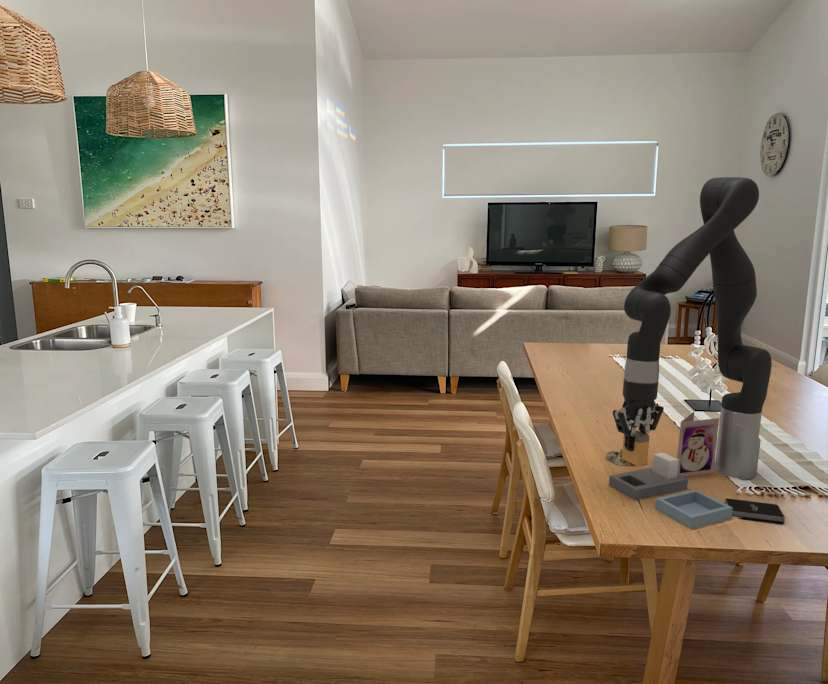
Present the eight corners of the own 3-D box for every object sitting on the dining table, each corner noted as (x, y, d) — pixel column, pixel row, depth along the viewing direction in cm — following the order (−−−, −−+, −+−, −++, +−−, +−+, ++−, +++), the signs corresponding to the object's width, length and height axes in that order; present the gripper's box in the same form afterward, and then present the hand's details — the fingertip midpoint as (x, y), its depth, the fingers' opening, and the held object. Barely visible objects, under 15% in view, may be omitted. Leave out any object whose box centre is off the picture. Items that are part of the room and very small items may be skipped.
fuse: (660, 479, 160) (662, 452, 158) (675, 486, 155) (678, 459, 154) (651, 481, 158) (653, 454, 157) (666, 488, 154) (669, 461, 152)
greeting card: (677, 480, 160) (683, 422, 157) (658, 469, 167) (663, 413, 164) (715, 475, 163) (721, 419, 160) (695, 464, 170) (700, 410, 167)
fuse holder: (658, 477, 162) (659, 465, 161) (686, 491, 154) (688, 479, 153) (608, 487, 156) (609, 475, 155) (635, 502, 148) (636, 490, 147)
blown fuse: (631, 456, 154) (634, 429, 153) (647, 464, 150) (649, 435, 148) (621, 458, 153) (624, 430, 152) (637, 466, 148) (639, 437, 147)
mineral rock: (604, 458, 168) (607, 441, 175) (603, 472, 170) (606, 454, 177) (647, 465, 165) (649, 447, 171) (646, 479, 167) (647, 461, 173)
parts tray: (694, 501, 148) (695, 489, 148) (731, 520, 139) (732, 507, 139) (654, 510, 143) (655, 498, 143) (690, 530, 135) (691, 517, 134)
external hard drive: (784, 526, 138) (785, 518, 137) (728, 519, 141) (729, 510, 140) (776, 512, 144) (777, 504, 144) (722, 505, 147) (723, 497, 147)
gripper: (652, 371, 153) (646, 440, 157) (605, 376, 148) (600, 448, 151) (676, 378, 147) (670, 450, 150) (628, 384, 141) (623, 459, 144)
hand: (635, 448), depth 151 cm, fingers closed on blown fuse, 3 cm apart
